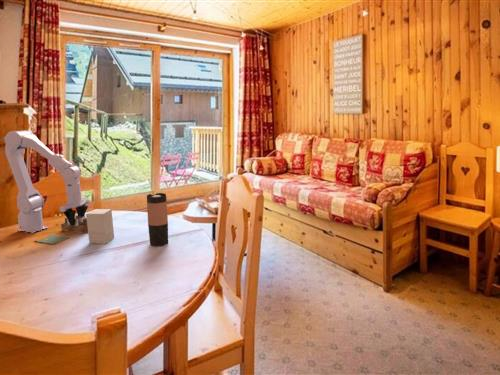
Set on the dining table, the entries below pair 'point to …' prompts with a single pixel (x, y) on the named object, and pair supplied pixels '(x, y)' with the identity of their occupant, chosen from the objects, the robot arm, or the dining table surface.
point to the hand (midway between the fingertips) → (76, 223)
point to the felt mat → (53, 239)
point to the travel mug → (157, 219)
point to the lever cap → (77, 220)
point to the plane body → (76, 227)
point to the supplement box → (100, 226)
